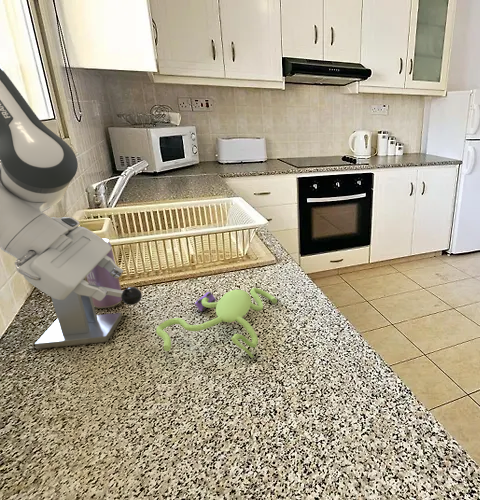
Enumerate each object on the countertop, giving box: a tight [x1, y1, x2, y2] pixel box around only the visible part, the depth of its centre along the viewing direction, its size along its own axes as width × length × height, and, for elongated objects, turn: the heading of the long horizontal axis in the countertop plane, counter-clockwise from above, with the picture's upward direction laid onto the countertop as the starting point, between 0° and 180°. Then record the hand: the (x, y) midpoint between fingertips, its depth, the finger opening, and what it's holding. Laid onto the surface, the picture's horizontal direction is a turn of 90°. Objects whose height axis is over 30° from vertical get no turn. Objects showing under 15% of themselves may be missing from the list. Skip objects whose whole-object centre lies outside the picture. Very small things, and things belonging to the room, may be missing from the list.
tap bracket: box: [34, 277, 123, 350], centre depth 73 cm, size 12×9×13 cm
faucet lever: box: [88, 284, 143, 306], centre depth 73 cm, size 14×4×4 cm, turn 104°
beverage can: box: [86, 237, 123, 309], centre depth 84 cm, size 6×6×15 cm
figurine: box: [155, 287, 278, 359], centre depth 78 cm, size 18×27×6 cm
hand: (113, 285), depth 74 cm, fingers open, 8 cm apart
